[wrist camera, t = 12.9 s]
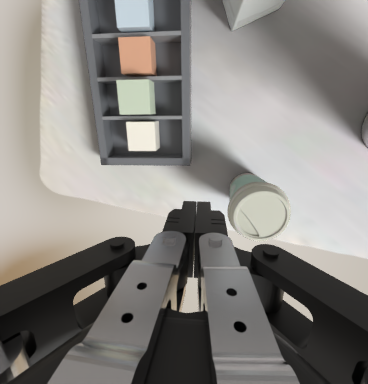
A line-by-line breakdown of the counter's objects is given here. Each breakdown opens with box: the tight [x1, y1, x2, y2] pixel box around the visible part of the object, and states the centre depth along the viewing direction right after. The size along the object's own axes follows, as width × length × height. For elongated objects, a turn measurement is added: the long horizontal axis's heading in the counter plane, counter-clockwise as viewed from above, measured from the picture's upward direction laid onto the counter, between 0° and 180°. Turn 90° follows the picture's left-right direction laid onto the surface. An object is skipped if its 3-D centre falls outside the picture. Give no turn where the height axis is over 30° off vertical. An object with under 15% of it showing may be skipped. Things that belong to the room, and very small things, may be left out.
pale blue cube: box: [115, 0, 155, 33], centre depth 31 cm, size 4×4×4 cm
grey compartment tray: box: [79, 0, 191, 166], centre depth 35 cm, size 15×26×4 cm, turn 1°
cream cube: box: [126, 121, 160, 151], centre depth 37 cm, size 4×4×4 cm
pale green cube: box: [116, 79, 156, 115], centre depth 33 cm, size 4×4×4 cm
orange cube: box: [118, 36, 157, 77], centre depth 33 cm, size 4×4×4 cm
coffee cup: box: [228, 173, 291, 241], centre depth 36 cm, size 9×8×12 cm
